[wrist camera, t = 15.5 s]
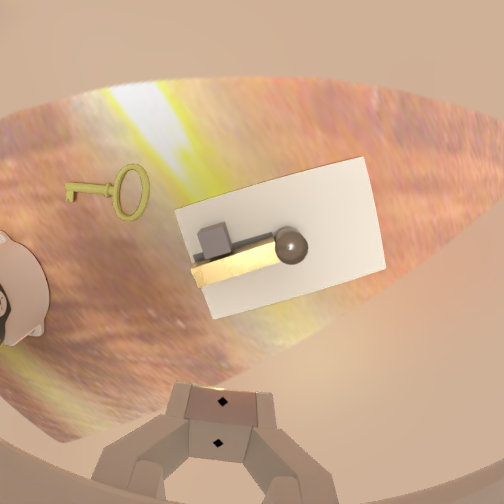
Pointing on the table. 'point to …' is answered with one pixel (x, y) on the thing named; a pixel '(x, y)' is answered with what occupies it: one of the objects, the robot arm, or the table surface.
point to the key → (114, 191)
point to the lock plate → (294, 215)
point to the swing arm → (252, 257)
